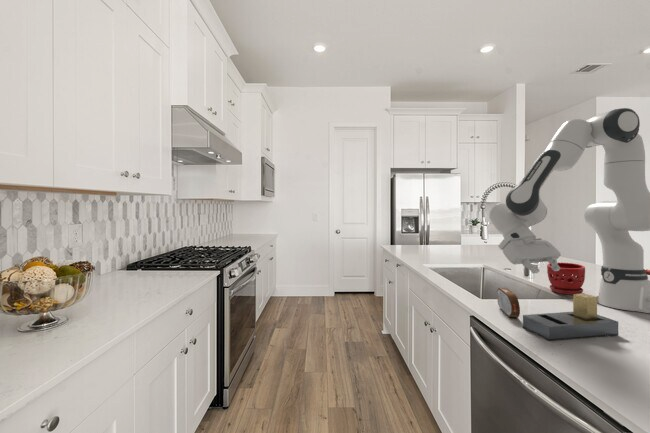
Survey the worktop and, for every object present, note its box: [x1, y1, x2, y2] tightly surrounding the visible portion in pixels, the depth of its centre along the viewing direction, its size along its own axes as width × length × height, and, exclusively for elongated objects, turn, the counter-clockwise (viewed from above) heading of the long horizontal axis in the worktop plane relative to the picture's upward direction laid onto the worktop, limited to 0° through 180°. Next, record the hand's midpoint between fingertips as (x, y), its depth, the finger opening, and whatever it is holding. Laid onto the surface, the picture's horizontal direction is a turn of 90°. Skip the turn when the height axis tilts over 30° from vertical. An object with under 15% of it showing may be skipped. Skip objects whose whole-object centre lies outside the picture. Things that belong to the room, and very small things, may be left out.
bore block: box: [522, 311, 619, 342], centre depth 95 cm, size 22×10×4 cm, turn 97°
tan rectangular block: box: [572, 292, 598, 321], centre depth 96 cm, size 4×4×10 cm
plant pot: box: [546, 262, 586, 296], centre depth 137 cm, size 13×13×12 cm
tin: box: [496, 286, 521, 318], centre depth 112 cm, size 15×3×8 cm, turn 168°
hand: (547, 271), depth 106 cm, fingers open, 8 cm apart
